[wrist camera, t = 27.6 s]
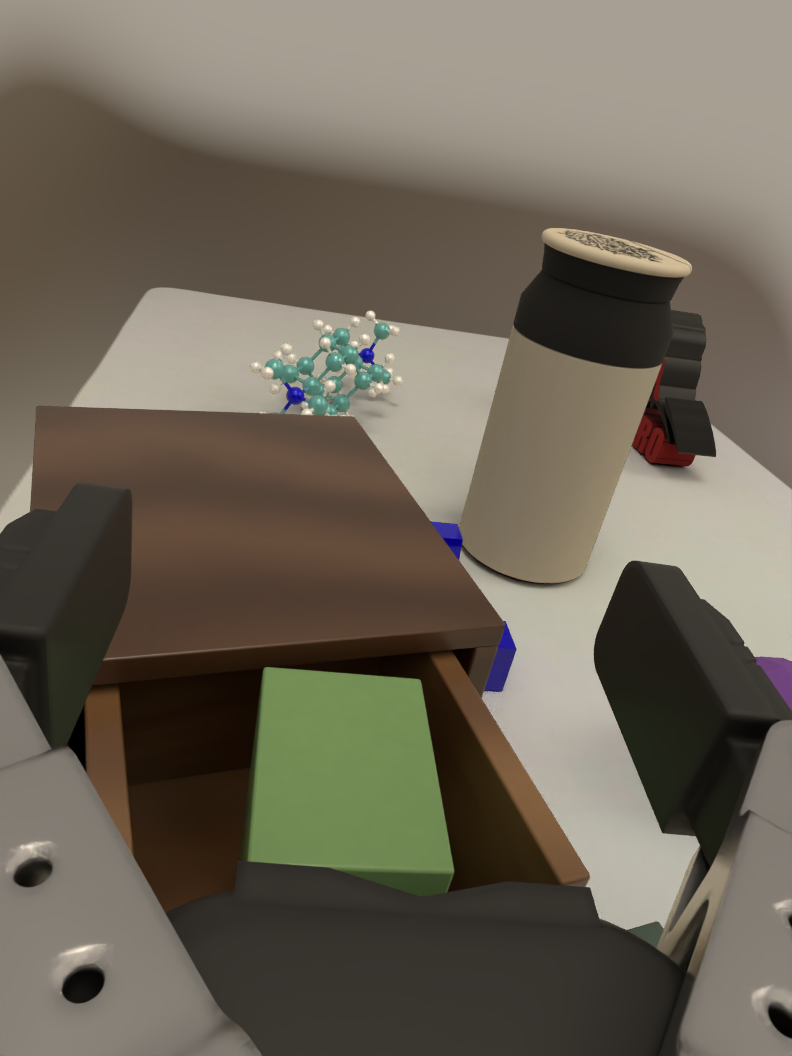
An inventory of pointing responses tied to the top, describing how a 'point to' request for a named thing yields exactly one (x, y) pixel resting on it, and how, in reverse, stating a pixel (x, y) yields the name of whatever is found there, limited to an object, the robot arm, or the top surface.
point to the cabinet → (262, 545)
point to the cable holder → (506, 644)
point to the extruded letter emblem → (677, 401)
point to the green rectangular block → (346, 780)
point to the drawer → (224, 764)
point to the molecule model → (334, 363)
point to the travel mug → (569, 402)
